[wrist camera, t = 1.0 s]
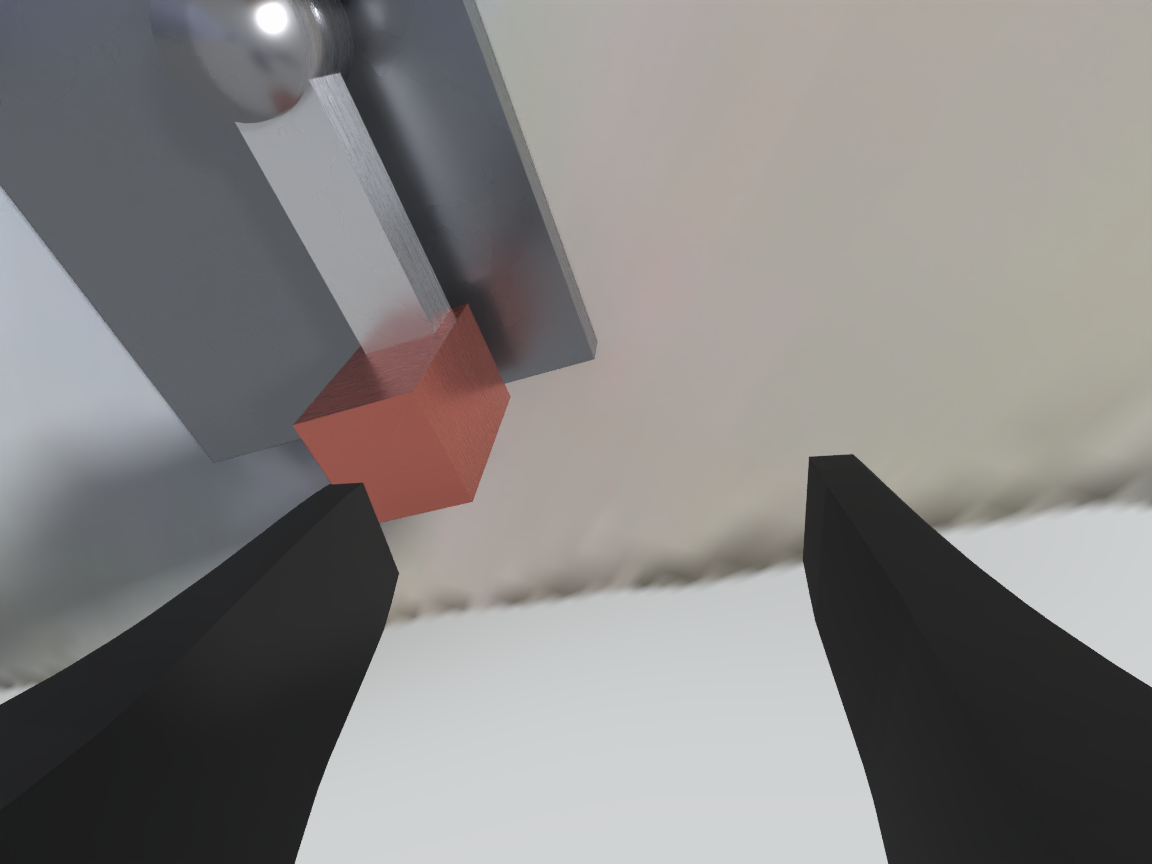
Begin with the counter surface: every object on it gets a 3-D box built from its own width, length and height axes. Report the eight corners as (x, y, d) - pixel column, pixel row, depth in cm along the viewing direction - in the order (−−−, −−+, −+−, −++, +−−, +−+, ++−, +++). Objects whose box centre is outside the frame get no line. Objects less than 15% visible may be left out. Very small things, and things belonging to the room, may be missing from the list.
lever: (196, -15, 15) (-8, -24, 10) (308, -72, 14) (142, -111, 9) (425, 410, 20) (360, 526, 16) (513, 386, 19) (472, 502, 15)
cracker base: (232, 443, 24) (95, 586, 18) (-87, 10, 17) (-480, 11, 11) (609, 338, 20) (592, 474, 14) (397, -272, 13) (194, -497, 7)
